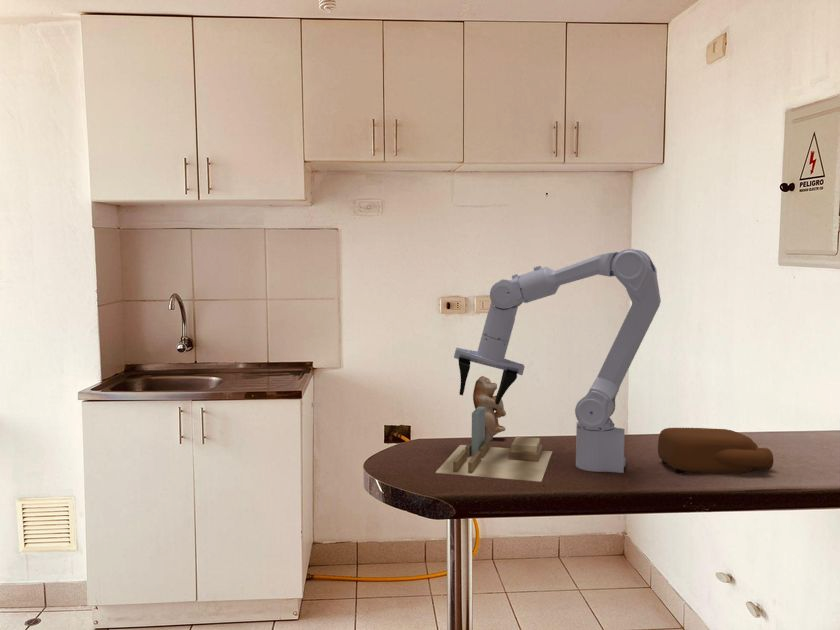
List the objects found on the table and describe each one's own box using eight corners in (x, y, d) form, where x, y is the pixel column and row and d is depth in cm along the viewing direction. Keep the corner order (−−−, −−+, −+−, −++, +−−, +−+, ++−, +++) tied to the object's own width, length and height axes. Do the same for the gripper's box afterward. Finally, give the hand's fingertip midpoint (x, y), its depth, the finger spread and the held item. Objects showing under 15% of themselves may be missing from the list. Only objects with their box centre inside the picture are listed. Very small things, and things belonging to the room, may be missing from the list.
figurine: (504, 446, 159) (505, 379, 159) (470, 444, 161) (471, 378, 160) (506, 439, 166) (507, 375, 165) (474, 438, 167) (474, 374, 166)
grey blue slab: (484, 448, 154) (485, 407, 153) (478, 456, 147) (478, 413, 146) (477, 447, 154) (478, 406, 154) (471, 456, 148) (471, 413, 147)
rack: (552, 456, 152) (552, 442, 151) (541, 486, 130) (541, 470, 130) (460, 449, 157) (460, 435, 157) (435, 477, 136) (435, 462, 136)
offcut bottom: (542, 451, 151) (542, 444, 151) (538, 461, 143) (538, 454, 143) (514, 449, 153) (514, 442, 153) (508, 459, 145) (508, 452, 145)
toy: (739, 461, 152) (648, 459, 150) (742, 426, 151) (651, 422, 149) (780, 482, 137) (680, 479, 135) (783, 443, 137) (683, 439, 135)
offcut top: (539, 445, 151) (539, 438, 150) (536, 453, 144) (536, 446, 144) (516, 443, 152) (516, 436, 152) (511, 451, 145) (511, 444, 145)
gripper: (528, 341, 151) (511, 401, 153) (461, 324, 151) (445, 384, 153) (531, 348, 144) (513, 411, 146) (461, 330, 144) (445, 393, 146)
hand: (478, 398), depth 149 cm, fingers open, 7 cm apart
